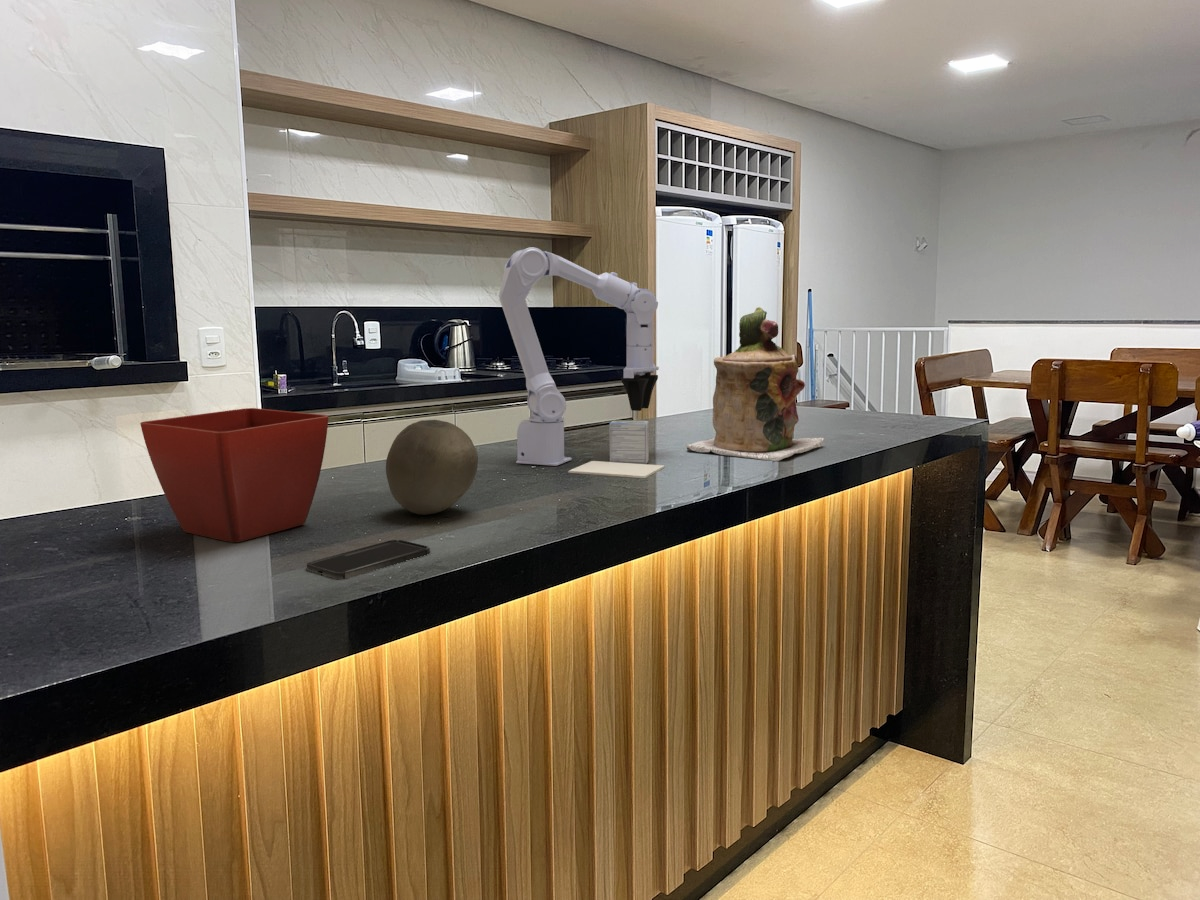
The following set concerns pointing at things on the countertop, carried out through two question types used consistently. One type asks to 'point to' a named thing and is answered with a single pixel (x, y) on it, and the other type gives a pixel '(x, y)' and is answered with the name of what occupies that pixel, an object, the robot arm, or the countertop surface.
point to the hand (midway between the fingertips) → (639, 409)
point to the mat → (617, 469)
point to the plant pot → (238, 469)
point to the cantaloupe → (430, 466)
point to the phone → (367, 559)
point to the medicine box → (629, 441)
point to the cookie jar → (756, 397)
